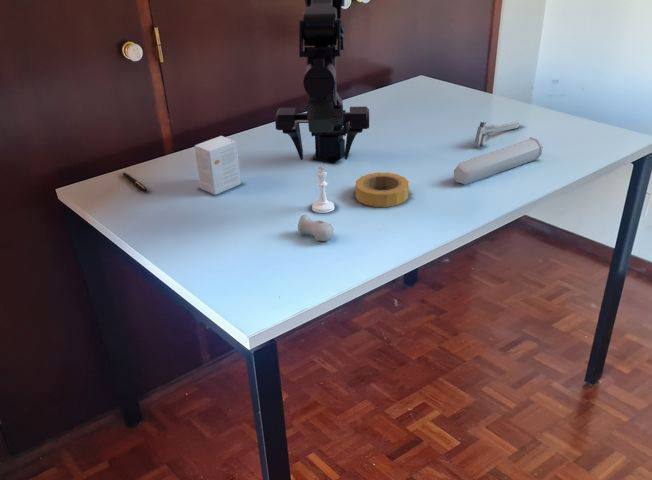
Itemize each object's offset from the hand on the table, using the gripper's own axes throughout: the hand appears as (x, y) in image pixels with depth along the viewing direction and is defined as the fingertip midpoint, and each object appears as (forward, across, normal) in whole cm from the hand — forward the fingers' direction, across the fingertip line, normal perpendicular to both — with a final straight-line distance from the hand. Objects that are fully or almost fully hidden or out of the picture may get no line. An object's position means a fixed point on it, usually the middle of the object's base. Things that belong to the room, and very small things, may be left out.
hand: (323, 159), depth 148 cm
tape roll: (+11, +12, +6) cm, 18 cm away
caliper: (+11, +43, +41) cm, 61 cm away
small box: (+11, -25, +11) cm, 30 cm away
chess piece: (+11, 0, 0) cm, 11 cm away
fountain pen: (+11, -46, +13) cm, 49 cm away
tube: (+11, +39, +19) cm, 45 cm away
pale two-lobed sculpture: (+11, -1, -13) cm, 17 cm away
